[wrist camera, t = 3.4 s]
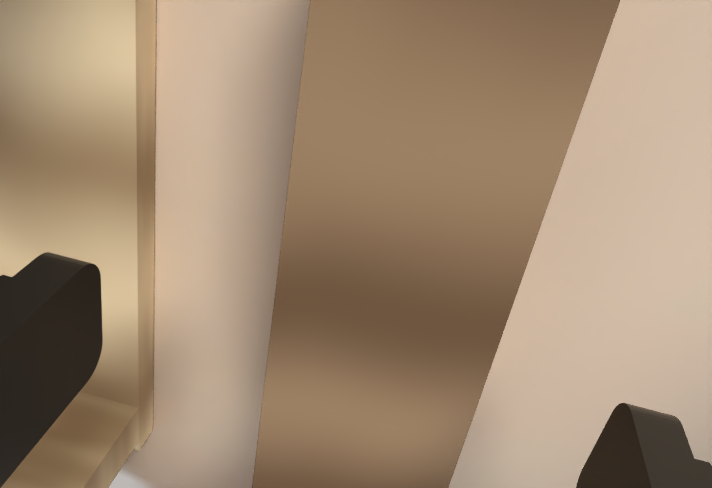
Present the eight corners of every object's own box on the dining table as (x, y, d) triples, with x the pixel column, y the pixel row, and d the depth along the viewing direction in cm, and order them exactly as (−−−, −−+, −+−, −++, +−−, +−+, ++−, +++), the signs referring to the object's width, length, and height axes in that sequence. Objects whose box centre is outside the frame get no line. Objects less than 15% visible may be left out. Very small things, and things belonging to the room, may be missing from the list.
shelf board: (394, -200, 13) (339, -246, 8) (621, -160, 12) (685, -186, 8) (299, 396, 21) (246, 530, 16) (433, 432, 20) (416, 578, 16)
